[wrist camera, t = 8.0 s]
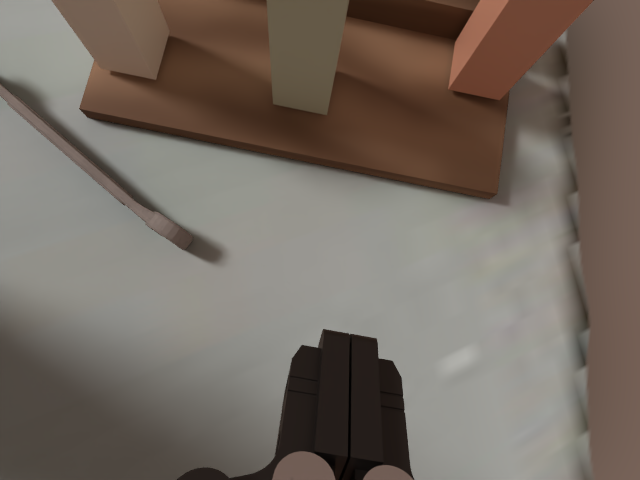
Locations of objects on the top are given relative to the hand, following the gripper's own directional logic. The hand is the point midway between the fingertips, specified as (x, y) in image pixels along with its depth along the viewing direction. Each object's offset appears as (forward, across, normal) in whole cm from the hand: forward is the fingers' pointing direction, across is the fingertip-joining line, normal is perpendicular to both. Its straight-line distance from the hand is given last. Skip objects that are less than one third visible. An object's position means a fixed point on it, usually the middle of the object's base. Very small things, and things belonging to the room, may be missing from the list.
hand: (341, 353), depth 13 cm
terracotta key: (+24, -8, -3) cm, 25 cm away
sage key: (+21, +3, -1) cm, 22 cm away
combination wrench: (+18, +17, +6) cm, 25 cm away
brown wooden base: (+24, +3, -1) cm, 24 cm away
